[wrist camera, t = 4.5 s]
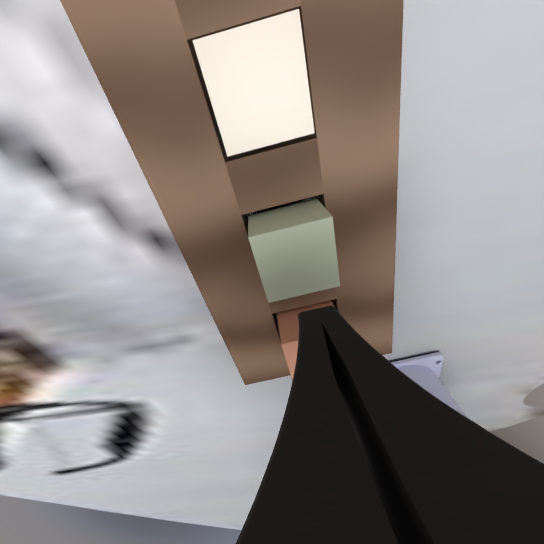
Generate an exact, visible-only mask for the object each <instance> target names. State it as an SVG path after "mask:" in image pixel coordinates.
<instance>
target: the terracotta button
mask: <svg viewBox="0 0 544 544" xmlns="http://www.w3.org/2000/svg"><path fill="white" fill-rule="evenodd" d="M330 305H332V306H334V305H333V303H332V301H331V300H329V301H324V302H320V303H316V304H312V305H307V306H303V307H299V308H294V309H290V310H286V311H282V312H277V319H278V326H279V333H280V339H281V345H282V349H283V352H284V355H285V358H286V361H287V365H288V368H289V371H290V374H291V378H292V381H293V376H294V371H295V365H296V359H297V350H298V341H299V319H298V314H299V313H300V312H304V311H308V310H312V309H317V308H321V307H326V306H330Z"/></svg>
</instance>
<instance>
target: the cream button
mask: <svg viewBox="0 0 544 544" xmlns="http://www.w3.org/2000/svg"><path fill="white" fill-rule="evenodd" d="M193 44H194V47H195V51H196V54H197V57H198V61H199V64H200V67H201V70H202V74H203V77H204V80H205V84H206V87H207V90H208V94H209V97H210V100H211V104H212V107H213V110H214V114H215V117H216V120H217V124H218V127H219V130H220V134H221V137H222V140H223V144H224V147H225V150H226V153H227V157H228V156H232V155H235V154H239V153H243V152H246V151H250V150H254V149H258V148H261V147H265V146H269V145H272V144H276V143H280V142H283V141H287V140H291V139H295V138H298V137H302V136H306V135H309V134H313V133H314V125H313V117H312V109H311V101H310V93H309V85H308V77H307V69H306V61H305V53H304V45H303V37H302V29H301V21H300V13H299V9H297V10H293V11H290V12H287V13H283V14H280V15H276V16H273V17H270V18H266V19H263V20H260V21H256V22H253V23H250V24H246V25H243V26H240V27H236V28H233V29H230V30H226V31H223V32H219V33H216V34H213V35H209V36H206V37H203V38H199V39H196V40H193Z"/></svg>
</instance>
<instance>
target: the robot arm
mask: <svg viewBox="0 0 544 544" xmlns="http://www.w3.org/2000/svg"><path fill="white" fill-rule="evenodd" d="M298 319H299V341H298V350H297V359H296V365H295V371H294V376H293V382H292V386H291V391H290V395H289V399H288V403H287V407H286V411H285V414H284V418H283V421H282V424H281V428H280V431H279V434H278V438H277V441H276V444H275V447H274V450H273V453H272V455H271V458H270V461H269V463H268V466H267V469H266V471H265V474H264V477H263V480H262V482H261V485H260V488H259V490H258V493H257V495H256V498H255V500H254V503H253V505H252V507H251V510H250V512H249V514H248V517H247V519H246V521H245V524H244V526H243V528H242V531H241V533H240V535H239V538H238V540H237V542H236V544H544V464H543V463H541V462H539V461H538V460H536V459H534V458H532V457H531V456H529V455H527V454H525V453H523V452H522V451H520V450H519V449H517V448H515V447H514V446H512V445H510V444H509V443H507V442H505V441H504V440H502V439H500V438H499V437H497V436H495V435H493V434H492V433H490V432H488V431H487V430H485V429H484V428H482V427H481V426H479V425H478V424H476V423H475V422H473V421H471V420H470V419H468V418H467V416H466V415H465V414H464V412H463V411H462V410H461V408H460V407H459V406H458V404H457V403H456V401H455V400H454V399H453V397H452V396H451V395H450V393H449V392H448V391H447V389H446V388H445V387H444V385H443V384H442V382H441V381H440V380H439V379H440V374H441V369H442V364H443V359H444V356H443V355H442V354H441V353H440V352H436V353H432V354H427V355H422V356H418V357H413V358H409V359H404V360H399V361H395V362H389V361H388V360H387V359H386V358H385V357H383V356H382V355H381V354H380V353H379V352H378V351H377V350H375V349H374V348H373V347H372V346H371V345H370V344H369V343H368V342H367V341H366V340H365V339H364V338H363V337H362V336H360V335H359V334H358V333H357V332H356V331H355V330H354V329H353V327H352V326H351V325H350V324H349V323H348V322H347V321H346V320H345V319H344V318H343V317H342V316H341V314H340V313H339V312H338V311H337V310H336V308H335V307H334V306H332V305H330V306H326V307H321V308H317V309H312V310H308V311H304V312H300V313H299V314H298Z"/></svg>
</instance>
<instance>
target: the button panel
mask: <svg viewBox="0 0 544 544" xmlns="http://www.w3.org/2000/svg"><path fill="white" fill-rule="evenodd" d="M60 1H61V3H62V5H63V7H64V9H65V11H66V13H67V15H68V17H69V19H70V22H71V24H72V26H73V28H74V30H75V32H76V34H77V36H78V38H79V40H80V42H81V44H82V46H83V49H84V51H85V53H86V55H87V57H88V59H89V61H90V63H91V65H92V67H93V69H94V71H95V74H96V76H97V78H98V80H99V82H100V84H101V86H102V88H103V90H104V92H105V94H106V96H107V98H108V101H109V103H110V105H111V107H112V109H113V111H114V113H115V115H116V117H117V119H118V121H119V123H120V125H121V128H122V130H123V132H124V134H125V136H126V138H127V140H128V142H129V144H130V146H131V148H132V150H133V153H134V155H135V157H136V159H137V161H138V163H139V165H140V167H141V169H142V171H143V173H144V175H145V177H146V180H147V182H148V184H149V186H150V188H151V190H152V192H153V194H154V196H155V198H156V200H157V202H158V204H159V207H160V209H161V211H162V213H163V215H164V217H165V219H166V221H167V223H168V225H169V227H170V229H171V232H172V234H173V236H174V238H175V240H176V242H177V244H178V246H179V248H180V250H181V252H182V254H183V256H184V259H185V261H186V263H187V265H188V267H189V269H190V271H191V273H192V275H193V277H194V279H195V281H196V283H197V286H198V288H199V290H200V292H201V294H202V296H203V298H204V300H205V302H206V304H207V306H208V308H209V311H210V313H211V315H212V317H213V319H214V321H215V323H216V325H217V327H218V329H219V331H220V333H221V335H222V338H223V340H224V342H225V344H226V346H227V348H228V350H229V352H230V354H231V356H232V358H233V360H234V362H235V365H236V367H237V369H238V371H239V373H240V375H241V377H242V379H243V381H244V383H245V385H247V384H252V383H257V382H261V381H266V380H270V379H275V378H279V377H284V376H288V375H291V374H290V371H289V368H288V365H287V361H286V358H285V355H284V352H283V349H282V345H281V339H280V333H279V326H278V320H277V316H276V313H277V312H282V311H286V310H290V309H294V308H299V307H303V306H307V305H312V304H316V303H320V302H324V301H329V300H331V301H332V303H333V305H334V307H335V308H336V310H337V311H338V312H339V313H340V314H341V316H342V317H343V318H344V319H345V320H346V321H347V322H348V323H349V324H350V325H351V326H352V327H353V329H354V330H355V331H356V332H357V333H358V334H359V335H360V336H362V337H363V338H364V339H365V340H366V341H367V342H368V343H369V344H370V345H371V346H372V347H373V348H374V349H375V350H377V351H378V352H379V353H380V354H381V355H384V354H389V353H392V335H393V304H394V273H395V242H396V212H397V181H398V150H399V119H400V88H401V57H402V27H403V0H60ZM297 9H299V13H300V21H301V29H302V37H303V45H304V53H305V61H306V69H307V77H308V85H309V93H310V101H311V109H312V117H313V125H314V133H313V134H309V135H306V136H302V137H298V138H295V139H291V140H287V141H283V142H280V143H276V144H272V145H269V146H265V147H261V148H258V149H254V150H250V151H246V152H243V153H239V154H235V155H232V156H228V157H227V153H226V150H225V147H224V144H223V140H222V137H221V134H220V130H219V127H218V124H217V120H216V117H215V114H214V110H213V107H212V104H211V100H210V97H209V94H208V90H207V87H206V84H205V80H204V77H203V74H202V70H201V67H200V64H199V61H198V57H197V54H196V51H195V47H194V44H193V40H196V39H199V38H203V37H206V36H209V35H213V34H216V33H219V32H223V31H226V30H230V29H233V28H236V27H240V26H243V25H246V24H250V23H253V22H256V21H260V20H263V19H266V18H270V17H273V16H276V15H280V14H283V13H287V12H290V11H293V10H297ZM313 196H315V199H316V198H317V199H318V200H319V202H320V203H321V204H322V205H323V206H324V207H325V208H326V210H327V211H328V212H329V213H330V214H331V215H332V216H333V224H334V234H335V243H336V252H337V261H338V271H339V280H340V286H338V287H334V288H330V289H326V290H321V291H317V292H313V293H309V294H304V295H300V296H296V297H292V298H288V299H283V300H279V301H275V302H271V303H268V300H267V297H266V294H265V290H264V287H263V284H262V281H261V278H260V274H259V271H258V268H257V265H256V261H255V258H254V255H253V252H252V249H251V245H250V242H249V239H248V219H247V216H246V214H247V213H251V212H255V211H258V210H262V209H266V208H270V207H274V206H278V205H282V204H286V203H290V202H294V201H297V200H301V199H305V198H309V197H313Z"/></svg>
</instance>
